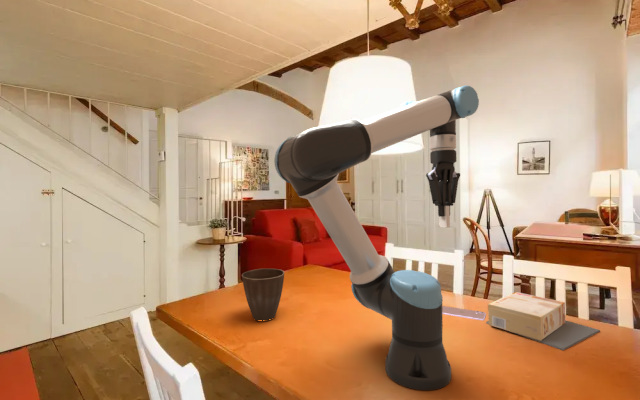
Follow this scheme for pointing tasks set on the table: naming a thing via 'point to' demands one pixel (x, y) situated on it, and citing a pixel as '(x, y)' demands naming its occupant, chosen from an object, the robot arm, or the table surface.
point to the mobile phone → (463, 313)
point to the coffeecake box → (527, 315)
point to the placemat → (566, 335)
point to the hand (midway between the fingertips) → (444, 226)
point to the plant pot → (263, 291)
